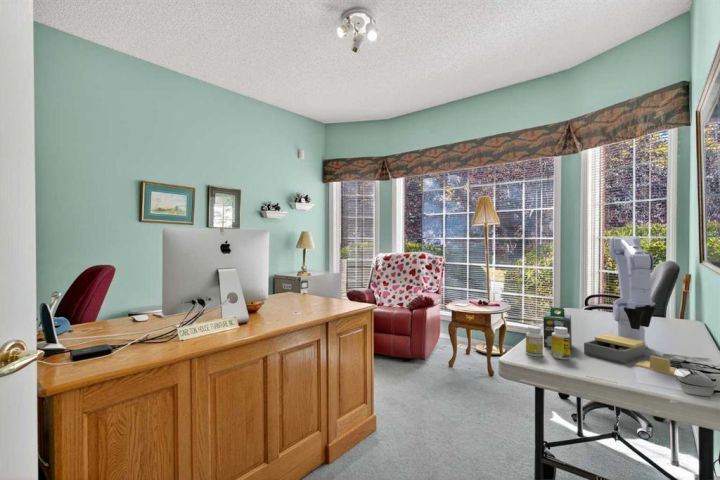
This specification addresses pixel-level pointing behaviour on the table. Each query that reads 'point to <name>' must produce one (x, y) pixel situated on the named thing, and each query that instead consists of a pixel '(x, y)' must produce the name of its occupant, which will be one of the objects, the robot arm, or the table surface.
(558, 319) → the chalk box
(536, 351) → the supplement bottle
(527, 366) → the table surface
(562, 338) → the supplement bottle
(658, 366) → the lid end segment
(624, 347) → the parts tub
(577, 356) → the table surface
